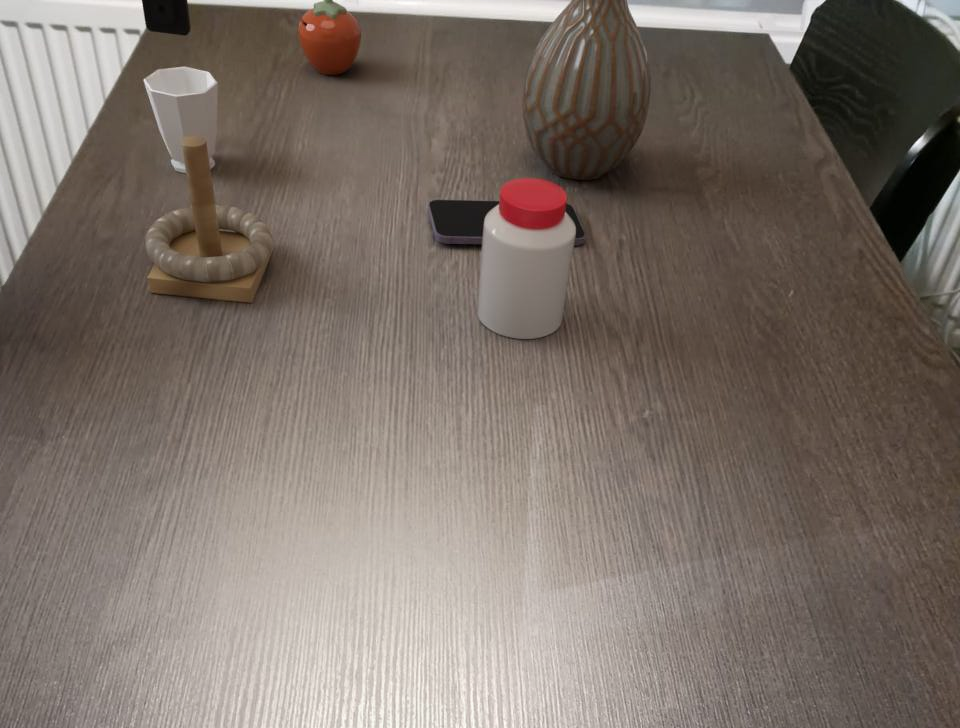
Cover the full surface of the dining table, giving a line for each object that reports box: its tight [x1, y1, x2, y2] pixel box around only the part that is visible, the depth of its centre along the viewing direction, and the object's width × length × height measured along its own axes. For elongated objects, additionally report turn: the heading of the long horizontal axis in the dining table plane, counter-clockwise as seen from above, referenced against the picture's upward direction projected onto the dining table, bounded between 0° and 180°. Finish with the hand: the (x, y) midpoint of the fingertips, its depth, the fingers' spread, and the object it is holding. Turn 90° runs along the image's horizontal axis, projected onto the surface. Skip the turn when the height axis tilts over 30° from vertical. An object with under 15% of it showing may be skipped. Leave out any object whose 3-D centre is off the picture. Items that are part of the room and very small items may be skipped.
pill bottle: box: [476, 177, 576, 340], centre depth 82 cm, size 8×8×11 cm
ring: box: [144, 204, 275, 282], centre depth 86 cm, size 11×11×2 cm
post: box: [146, 136, 274, 304], centre depth 83 cm, size 9×9×12 cm
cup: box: [143, 66, 219, 174], centre depth 98 cm, size 7×10×8 cm
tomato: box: [297, 0, 362, 76], centre depth 114 cm, size 7×7×8 cm
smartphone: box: [427, 199, 586, 247], centre depth 96 cm, size 7×1×15 cm
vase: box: [522, 0, 652, 181], centre depth 99 cm, size 13×13×18 cm
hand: (186, 9), depth 75 cm, fingers open, 9 cm apart
